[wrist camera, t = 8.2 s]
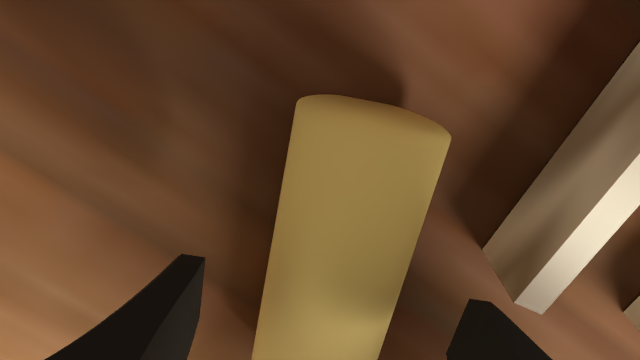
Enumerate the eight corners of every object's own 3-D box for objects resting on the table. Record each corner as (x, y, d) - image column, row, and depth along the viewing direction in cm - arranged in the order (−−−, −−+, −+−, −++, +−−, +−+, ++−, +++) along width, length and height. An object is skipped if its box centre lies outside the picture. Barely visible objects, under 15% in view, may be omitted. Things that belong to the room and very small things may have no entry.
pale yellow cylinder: (355, 354, 17) (366, 454, 14) (254, 340, 17) (237, 439, 13) (429, 111, 13) (473, 160, 10) (298, 85, 13) (292, 127, 9)
